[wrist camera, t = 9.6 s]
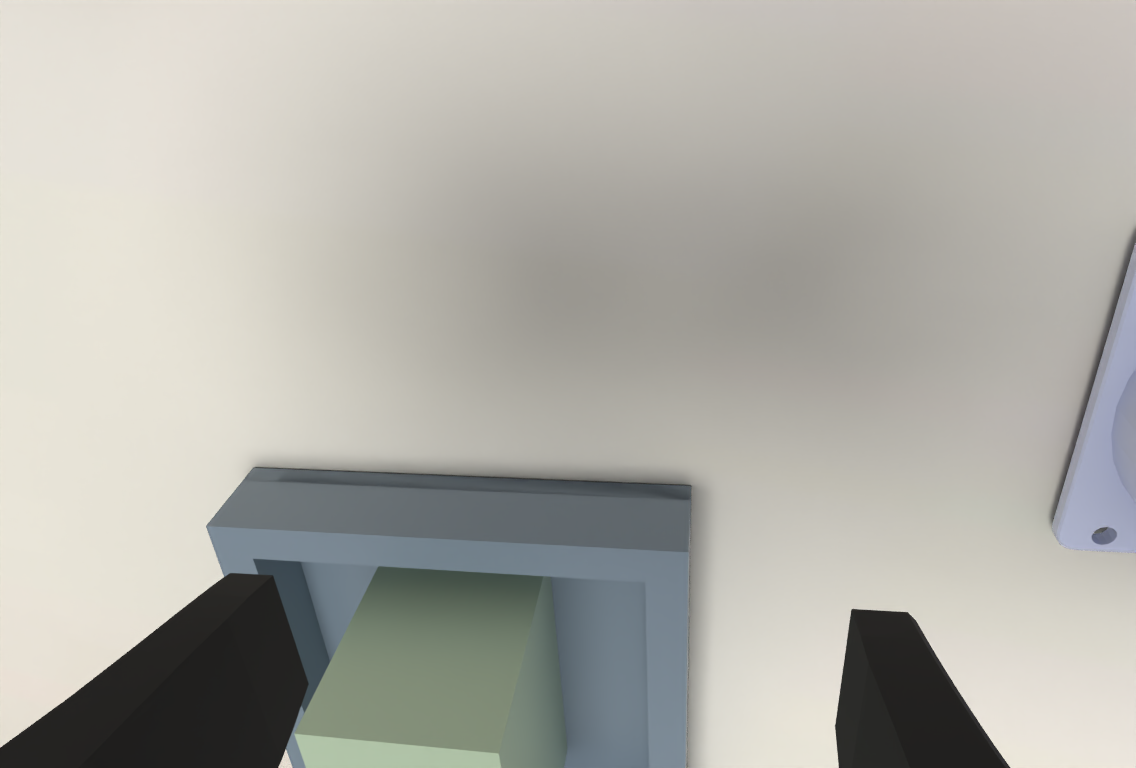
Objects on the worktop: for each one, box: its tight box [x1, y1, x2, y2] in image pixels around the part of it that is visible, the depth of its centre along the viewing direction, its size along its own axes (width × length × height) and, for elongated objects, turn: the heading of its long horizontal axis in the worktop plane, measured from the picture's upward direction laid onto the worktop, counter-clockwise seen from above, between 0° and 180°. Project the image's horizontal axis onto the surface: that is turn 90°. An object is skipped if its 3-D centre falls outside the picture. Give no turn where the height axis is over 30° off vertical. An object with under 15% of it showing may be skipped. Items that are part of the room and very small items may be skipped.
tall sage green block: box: [294, 566, 567, 768], centre depth 22 cm, size 4×8×6 cm, turn 4°
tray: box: [206, 468, 691, 768], centre depth 24 cm, size 12×13×2 cm
